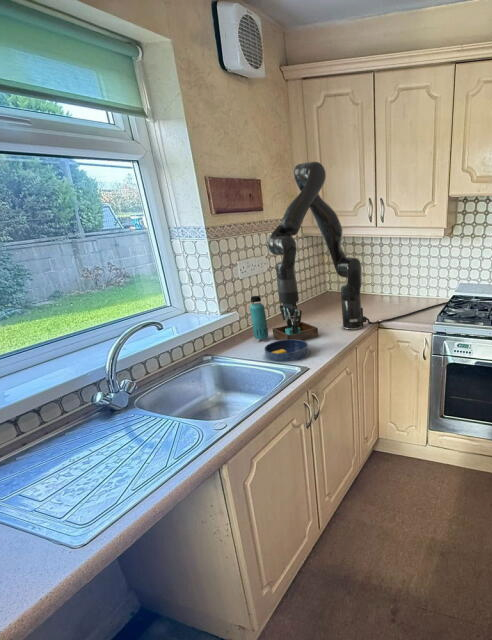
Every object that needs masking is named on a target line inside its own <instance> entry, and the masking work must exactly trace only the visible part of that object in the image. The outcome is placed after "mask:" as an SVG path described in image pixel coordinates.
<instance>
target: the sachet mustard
mask: <svg viewBox="0 0 492 640" xmlns="http://www.w3.org/2000/svg"><path fill="white" fill-rule="evenodd" d="M272 353H287V351H286V350H284V349H281V350H277V351H273V352H272Z"/></svg>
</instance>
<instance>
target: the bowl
mask: <svg viewBox="0 0 492 640" xmlns="http://www.w3.org/2000/svg"><path fill="white" fill-rule="evenodd" d="M281 349H284V350H286V351H287V353H272V352H273V351H277V350H281ZM309 351H310V350H309V343H308V342H306V340H303V341H302V340H294V339H290V340H276V341H273V342H270V343H267V344H266V346H264V354H265V359H267V360H268V361H271V362H276V363H288V362H294V361H300V360H302V359H304V358H305V357H307V356H308V355H309V353H310V352H309Z"/></svg>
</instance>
